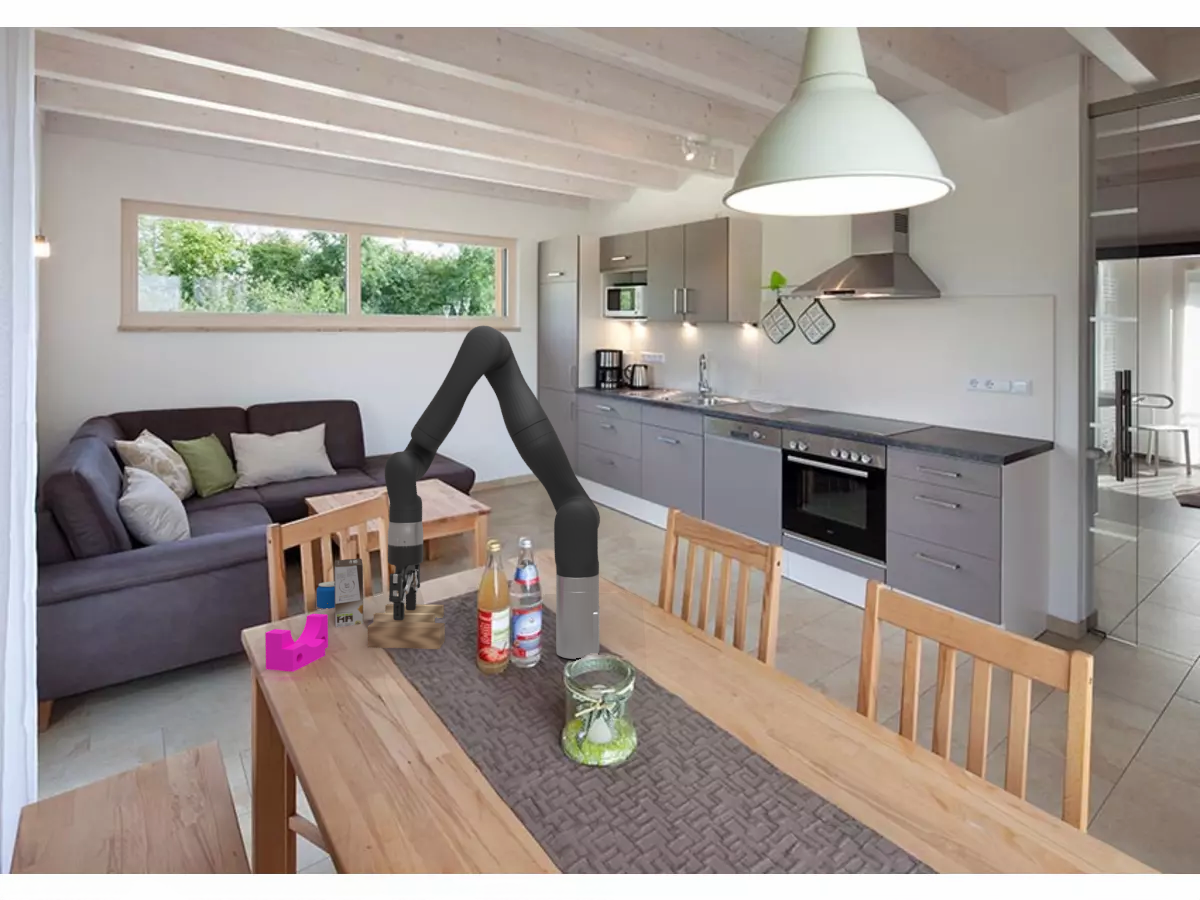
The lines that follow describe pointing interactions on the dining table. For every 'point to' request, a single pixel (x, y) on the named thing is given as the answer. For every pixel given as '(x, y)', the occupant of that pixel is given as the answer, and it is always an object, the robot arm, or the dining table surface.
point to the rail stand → (412, 614)
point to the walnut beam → (406, 635)
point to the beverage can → (326, 595)
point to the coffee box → (348, 592)
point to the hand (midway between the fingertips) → (405, 614)
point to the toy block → (297, 645)
